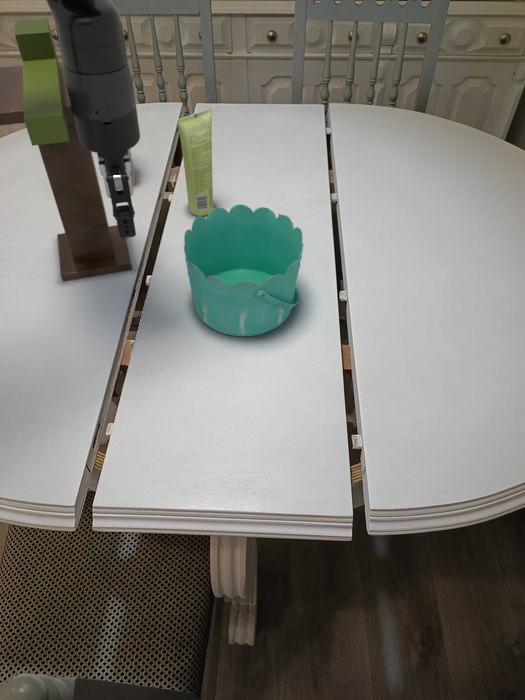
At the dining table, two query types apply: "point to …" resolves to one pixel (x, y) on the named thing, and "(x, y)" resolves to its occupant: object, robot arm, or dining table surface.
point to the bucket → (243, 269)
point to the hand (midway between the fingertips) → (124, 218)
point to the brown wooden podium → (71, 191)
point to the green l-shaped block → (41, 83)
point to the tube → (198, 160)
